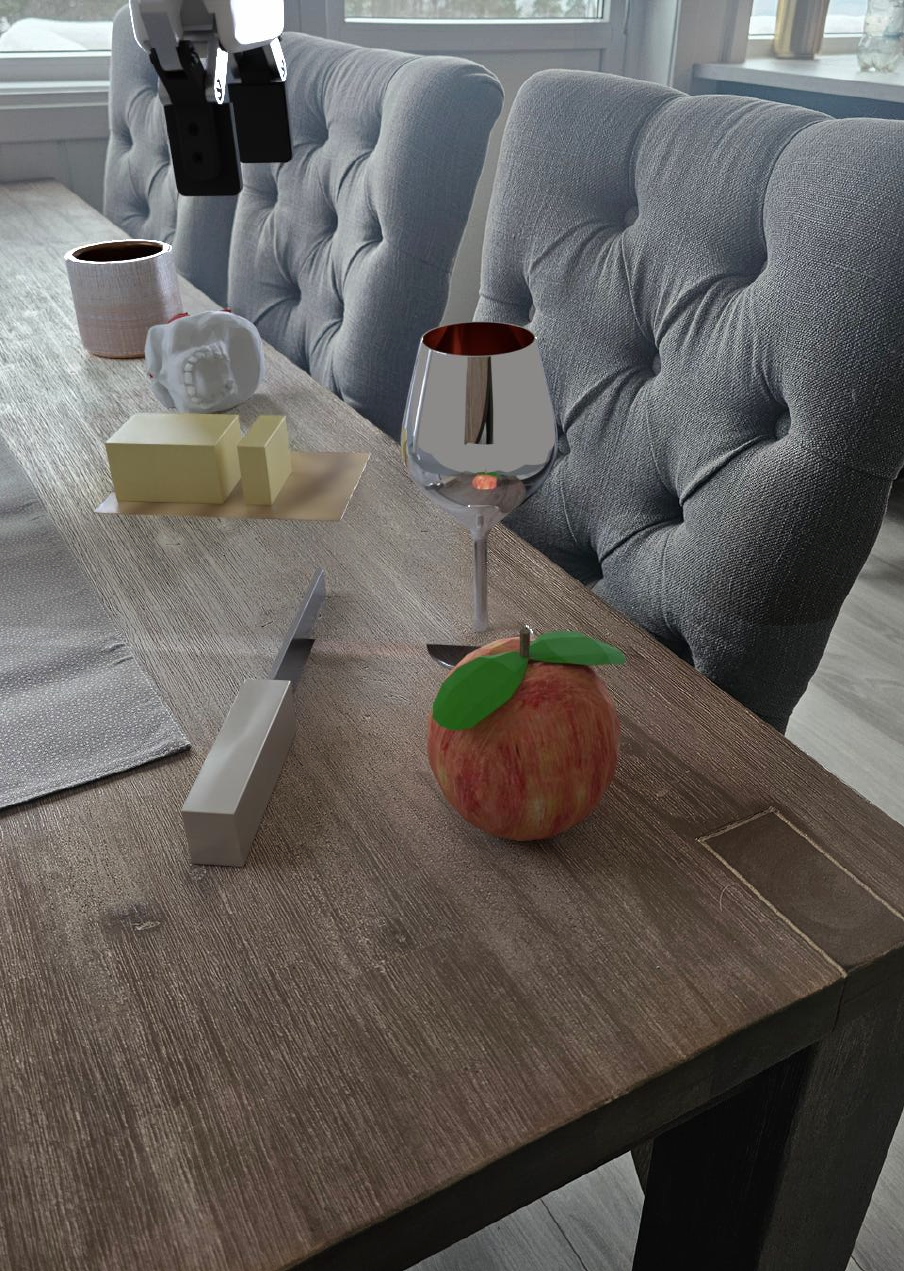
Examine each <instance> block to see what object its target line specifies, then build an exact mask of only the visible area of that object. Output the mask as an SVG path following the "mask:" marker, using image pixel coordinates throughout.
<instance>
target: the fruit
mask: <svg viewBox="0 0 904 1271" xmlns="http://www.w3.org/2000/svg"><path fill="white" fill-rule="evenodd" d="M626 660H627V658H626V656H625V655H624V653H623V651H622V650H620V649H618V648H617V647H615V646H613V645H611V644H608V643H605V642H603V641H601V640H598V639H596V638H594V637H591V636H588V635H586V634H583V633H581V632H578V631H568V630H567V631H566V630H555V631H551V632H547V633H542V634H540V635H539V636H537V637H535V638H534V637H530V630H529V629H527V628H526V627H523V628H520V629H519V636H515V637H513V636H512V637H506V638H505V637H504V638H498V639H495V640H493V641H492V642H490V643H487V644H485V645H483V646H482V647H481V648H479V649H477V650H475V651H473V652H471V653H469V654H468V655H467V656H465V657H464V658H463V659H462V660H461V661H460V662H459V663H458V664H457V665H456V666H455V667H454V668H453V669H450V671H449V672H448V674H447V675H446V676H445V678H444V679H443V681H442V682H441V685H440V687H438V689H437V691H436V695H435V698H434V700H433V703H432V706H431V708H430V711H429V715H428V716H427V717H428V718H427V730H426V731H427V734H426V736H427V737H426V740H427V741H426V752H427V758H428V764H429V766H430V768H431V770H432V773H433V775H434V778H435V779H436V782H437V784H438V786H439V788H440V791H441V794H443V797H444V799H445V801H447V802H448V804H449V805H450V806H451V807H452V808H453V809H454V810H455V811H456V812H457V813H458V814H459V815H460V817H462V819H463V820H464V821H465V822H467V823H469V824H470V825H472V826H474V827H476V828H478V829H480V830H481V831H483V832H485V833H486V834H488V835H491V836H493V837H496V838H502V839H507V840H512V841H519V842H524V841H533V840H534V841H535V840H546V839H549V838H551V837H554V836H556V835H559V834H561V833H564V832H566V831H568V830H571V829H572V828H573V827H575V826H577V825H579V824H580V823H581V822H582V821H583V820H584V819H585V818H586V817H588V816H589V814H590V813H591V812H592V811H593V810H595V808H596V807H598V805H599V803H600V802H601V800H602V798H603V796H604V795H605V794H606V792H607V790H608V789H609V787H610V786H611V784H612V782H613V780H614V775H615V772H616V767H617V765H618V760H619V755H620V748H621V742H622V738H621V736H622V732H621V720H620V718H619V715H618V712H617V708H616V705H615V703H614V701H613V698H612V696H611V694H610V691H609V689H608V687H607V685H606V683H605V682H604V680H603V678H602V677H601V676H600V674H599V672H598V671H597V670H596V669H595V667H594V666H605V665H618V666H624V665H625V663H626Z"/></svg>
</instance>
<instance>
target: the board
mask: <svg viewBox="0 0 904 1271" xmlns="http://www.w3.org/2000/svg"><path fill="white" fill-rule="evenodd" d="M371 456H372V453H371V452H346V451H345V452H343V451H342V452H341V451H337V452H336V451H303V450H290V458H291V467H292V472H291V474H290V475H289V477H288V479H287V481H286V482H285V484H284V486H283V487H282V489H281V491H280V492H279V494H278V496H277V497H276V499H275V501H274V502H273V504H272V505H246V504H245V501H244V494H243V486H242V479H241V478H240V480H239V481H238V483H237V484H236V486H235V487H234V489H233V490H232V491H231V493H230V494H229V496H228V497H227V499H226V500H225V502H224V503H223V504H208V503H175V502H142V501H117V499H116V495H115V490H114V489H113V490H112V491H111V492H110V493H109V495H107V497H106V498H105V499H103V501H102V502H101V503H100V504H99V506H98V507H97V508H95V510H94V511H93V514H100V515H101V514H102V515H104V514H105V515H133V516H134V515H135V516H139V515H140V516H165V517H166V516H167V517H194V518H196V517H197V518H199V517H200V518H225V519H226V518H227V519H259V520H289V521H321V522H323V521H324V522H341V521H342V518H343V516H344V515H345V512H346V510H347V507H348V505H349V504H350V501H351V499H352V497H353V494H354V492H355V490H356V488H357V486H358V484H359V482H360V479H361V476H362V475H363V472H364V470H365V468H366V466H367V464H368V462H369V460H370V458H371Z"/></svg>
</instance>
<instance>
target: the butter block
mask: <svg viewBox="0 0 904 1271" xmlns="http://www.w3.org/2000/svg"><path fill="white" fill-rule="evenodd" d="M242 439H243V437H242V431H241V424H240V416H239V414H232V413H231V414H230V413H229V414H228V413H211V414H186V413H179V412H136V411H135V412H134V413H133V414H132V415H131V416H130V417H129V418H128V419H127V420H126V421H125V422H124V423H123V424H122V425H121V426H120V427H119V428H118V429H117V430H116V431H115V432H114V433H113V434H112V435H111V436H109V438H108V439H107V440H106V441H105V442H104V447H105V452H106V456H107V461H108V467H109V472H110V475H111V480H112V485H113V490H115V495H116V499H117V501H142V502H175V503H208V504H223V503H224V502H225V500H226V499H227V497H228V496H229V494H230V493H231V491H232V490H233V489H234V487H235V486H236V484H237V483H238V481H239V480H240V478H241V472H240V465H239V458H238V451H237V445H238V444H239V443H240V441H241V440H242Z"/></svg>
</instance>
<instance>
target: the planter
mask: <svg viewBox="0 0 904 1271" xmlns="http://www.w3.org/2000/svg"><path fill="white" fill-rule="evenodd" d="M64 262H65V267H66V272H67V277H68V281H69V286H70V291H71V296H72V301H73V306H74V311H75V316H76V322H77V327H78V332H79V336H80V342H81V344H82V347H83V348H84V349H85V350H86V351H88V352H89V353H92V354H93V355H96V356H99V357H103V358H109V359H134V358H135V359H136V358H145V345H146V340H147V335H148V331H149V329H150V328H151V327H153V326H156V325H163V324H167V323H168V321H169V320H171V319H172V318H173V317H175V316H177V315H178V314H180V313H184V308H183V303H182V297H181V291H180V286H179V285H180V284H179V280H178V275H177V274H178V273H177V268H176V263H175V256H174V249H173V247H172V245H170V244H168V243H166V242H162V241H157V240H148V239H126V240H125V239H123V240H112V241H103V242H98V243H93V244H87V245H84V246H79V247H77V248H74V249H72V250H70V251H68V252H67V253H66V254H65V255H64Z"/></svg>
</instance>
